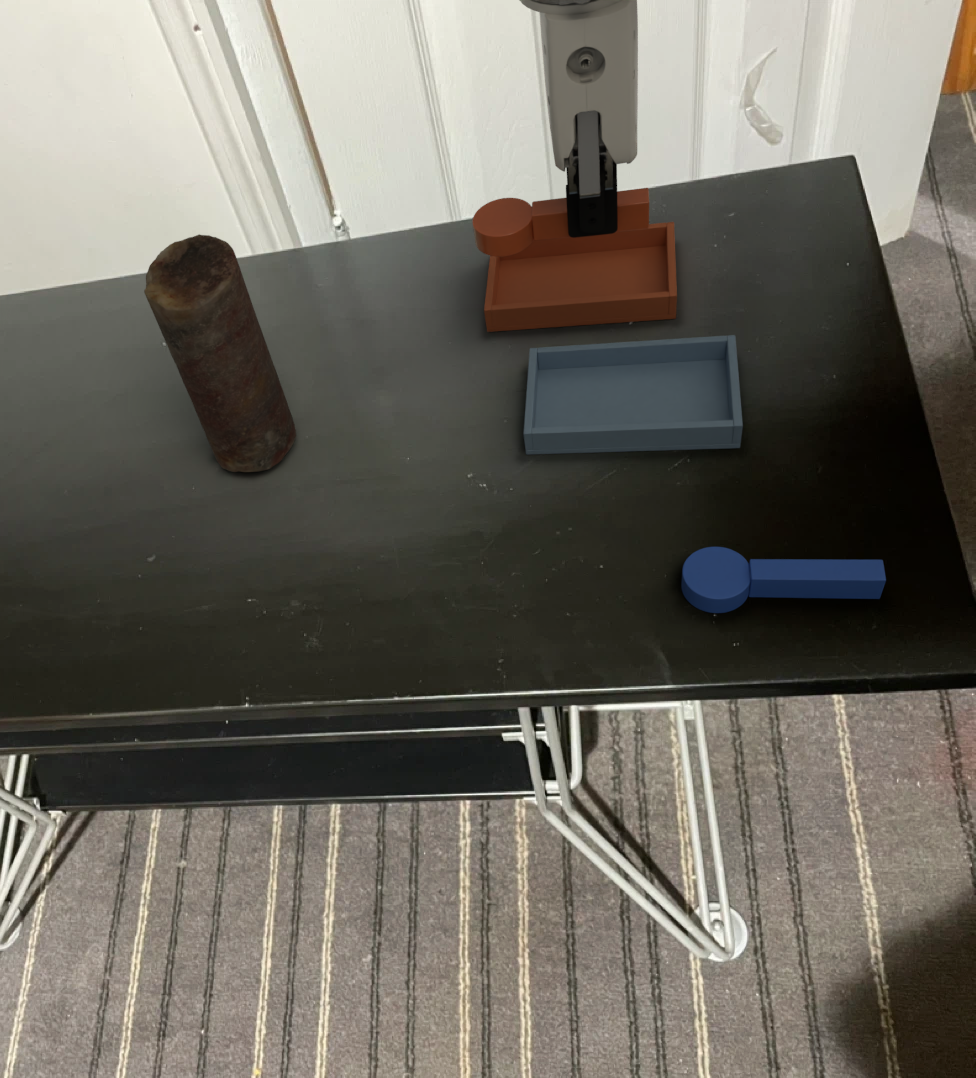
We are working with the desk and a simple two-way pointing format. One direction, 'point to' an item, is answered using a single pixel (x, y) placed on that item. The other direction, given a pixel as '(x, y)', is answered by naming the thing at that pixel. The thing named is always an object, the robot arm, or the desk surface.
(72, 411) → the desk surface
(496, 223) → the terracotta spoon
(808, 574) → the blue spoon
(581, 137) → the robot arm
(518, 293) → the terracotta tray
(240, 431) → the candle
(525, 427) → the blue tray
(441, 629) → the desk surface
